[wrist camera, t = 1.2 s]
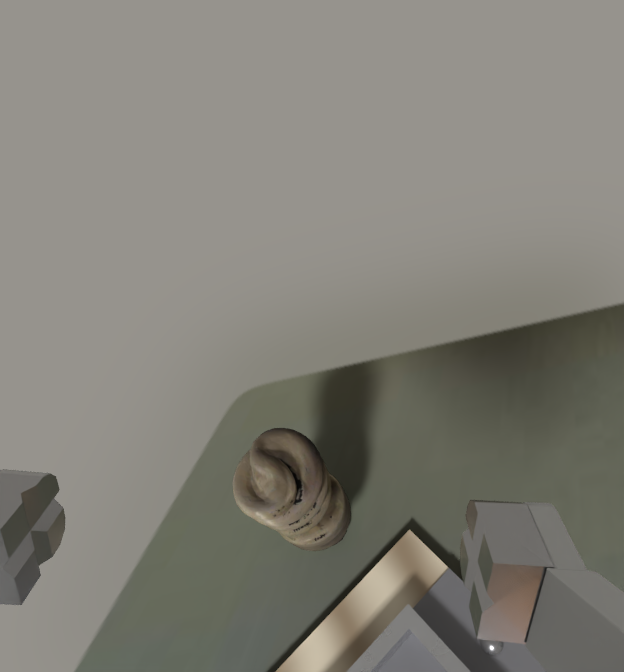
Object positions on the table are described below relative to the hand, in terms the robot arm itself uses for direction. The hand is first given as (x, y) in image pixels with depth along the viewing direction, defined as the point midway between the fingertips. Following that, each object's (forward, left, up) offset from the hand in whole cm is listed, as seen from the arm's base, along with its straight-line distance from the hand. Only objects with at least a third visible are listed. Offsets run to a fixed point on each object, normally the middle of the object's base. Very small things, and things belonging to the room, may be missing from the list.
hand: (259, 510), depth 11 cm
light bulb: (-1, -10, -32) cm, 34 cm away
